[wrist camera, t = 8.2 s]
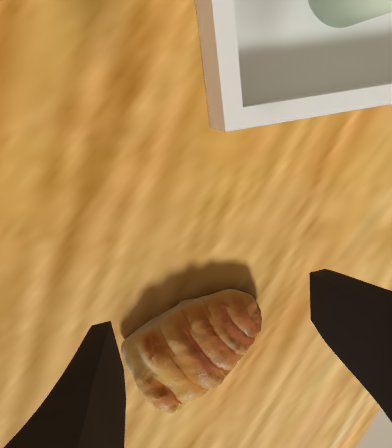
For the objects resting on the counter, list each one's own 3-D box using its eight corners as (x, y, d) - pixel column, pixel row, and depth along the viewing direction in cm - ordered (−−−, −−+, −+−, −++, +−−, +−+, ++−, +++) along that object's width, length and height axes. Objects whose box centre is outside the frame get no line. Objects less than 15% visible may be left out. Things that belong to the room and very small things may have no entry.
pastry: (225, 257, 23) (245, 286, 19) (271, 321, 25) (296, 356, 22) (112, 338, 23) (111, 381, 19) (169, 393, 26) (178, 440, 22)
